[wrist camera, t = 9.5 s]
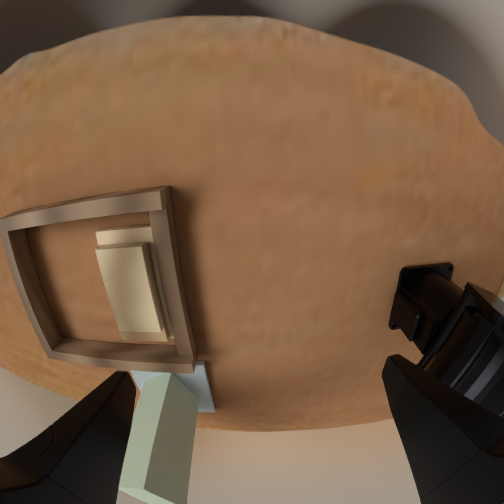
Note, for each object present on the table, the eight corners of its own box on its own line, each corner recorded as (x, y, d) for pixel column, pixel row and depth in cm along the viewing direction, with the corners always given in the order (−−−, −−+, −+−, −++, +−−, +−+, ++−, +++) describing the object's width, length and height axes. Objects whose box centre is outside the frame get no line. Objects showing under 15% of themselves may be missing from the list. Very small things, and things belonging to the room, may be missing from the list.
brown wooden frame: (169, 185, 19) (159, 191, 16) (197, 354, 24) (194, 373, 22) (13, 212, 18) (-3, 219, 16) (58, 344, 24) (48, 357, 22)
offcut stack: (156, 223, 20) (145, 233, 17) (177, 332, 23) (172, 350, 21) (100, 228, 20) (85, 238, 17) (128, 331, 23) (119, 347, 21)
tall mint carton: (171, 371, 24) (143, 489, 12) (199, 399, 26) (186, 508, 14) (145, 378, 25) (112, 486, 13) (173, 405, 27) (154, 506, 14)
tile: (204, 360, 25) (203, 365, 24) (215, 408, 28) (215, 412, 27) (128, 357, 24) (126, 361, 24) (149, 404, 27) (148, 408, 27)
